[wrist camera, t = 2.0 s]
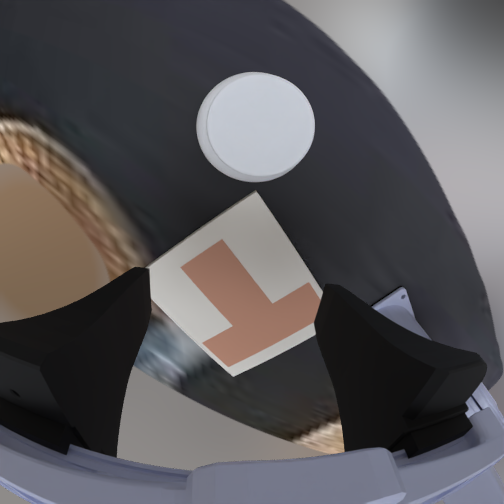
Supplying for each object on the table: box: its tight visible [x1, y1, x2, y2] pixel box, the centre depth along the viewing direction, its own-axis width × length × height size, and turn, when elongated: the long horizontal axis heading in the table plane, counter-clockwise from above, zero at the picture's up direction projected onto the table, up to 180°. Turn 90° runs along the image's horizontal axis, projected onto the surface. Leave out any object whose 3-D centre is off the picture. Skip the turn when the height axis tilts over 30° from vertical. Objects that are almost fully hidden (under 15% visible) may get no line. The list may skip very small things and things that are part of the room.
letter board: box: [145, 190, 323, 376], centre depth 23 cm, size 14×12×1 cm
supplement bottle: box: [196, 72, 315, 182], centre depth 14 cm, size 5×5×10 cm
